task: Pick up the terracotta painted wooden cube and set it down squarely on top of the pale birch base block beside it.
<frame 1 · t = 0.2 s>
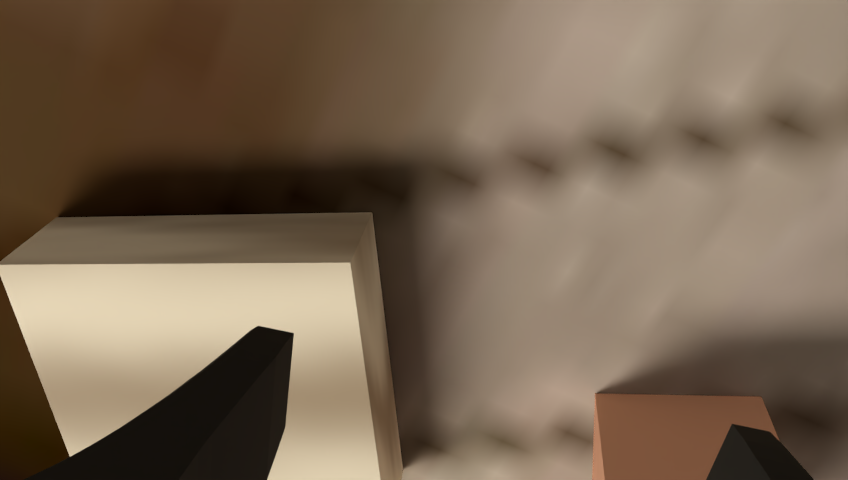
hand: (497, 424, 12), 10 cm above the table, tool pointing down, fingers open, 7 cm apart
base: (240, 351, 25), on the table
cube: (670, 453, 25), on the table
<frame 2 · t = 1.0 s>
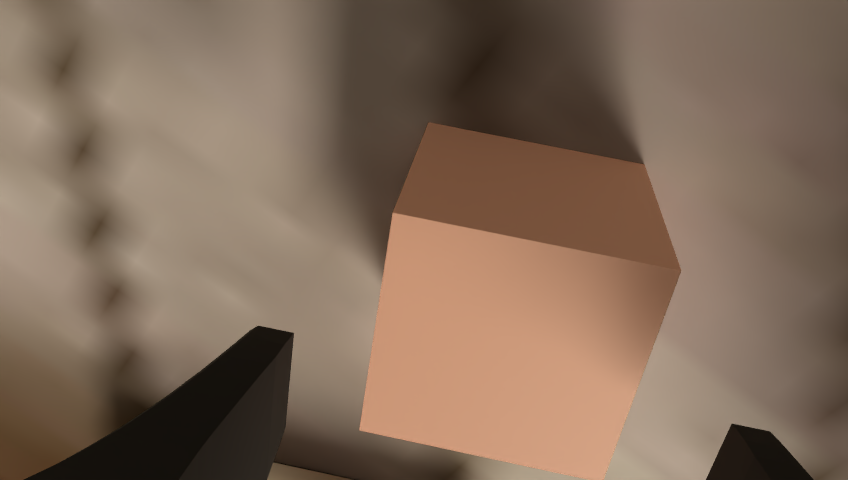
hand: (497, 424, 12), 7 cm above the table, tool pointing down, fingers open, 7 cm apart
cube: (512, 237, 18), on the table
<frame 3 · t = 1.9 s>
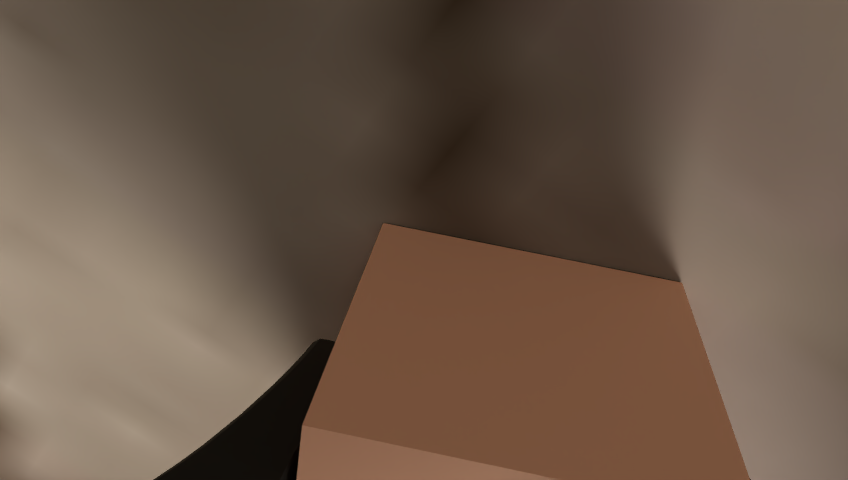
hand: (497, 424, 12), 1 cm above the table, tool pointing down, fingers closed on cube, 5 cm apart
cube: (500, 371, 14), on the table, touching gripper
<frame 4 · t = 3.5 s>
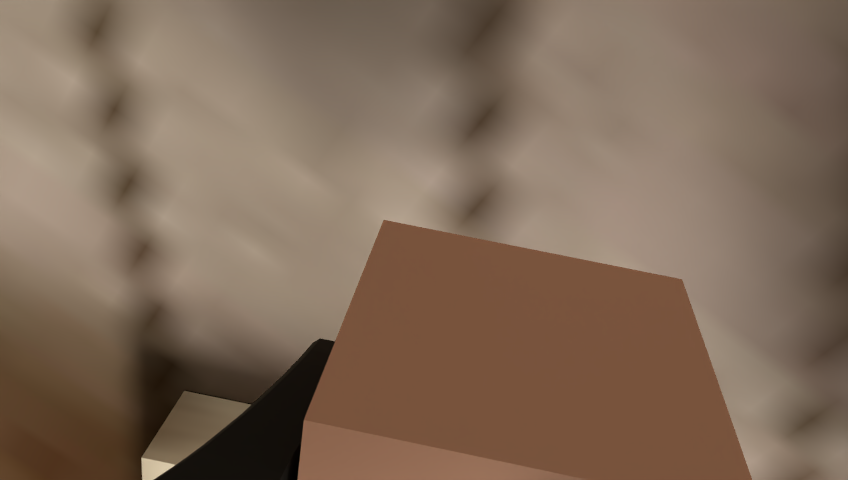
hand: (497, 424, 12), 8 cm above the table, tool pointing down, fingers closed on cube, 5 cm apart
cube: (500, 368, 14), point 7 cm above the table, touching gripper
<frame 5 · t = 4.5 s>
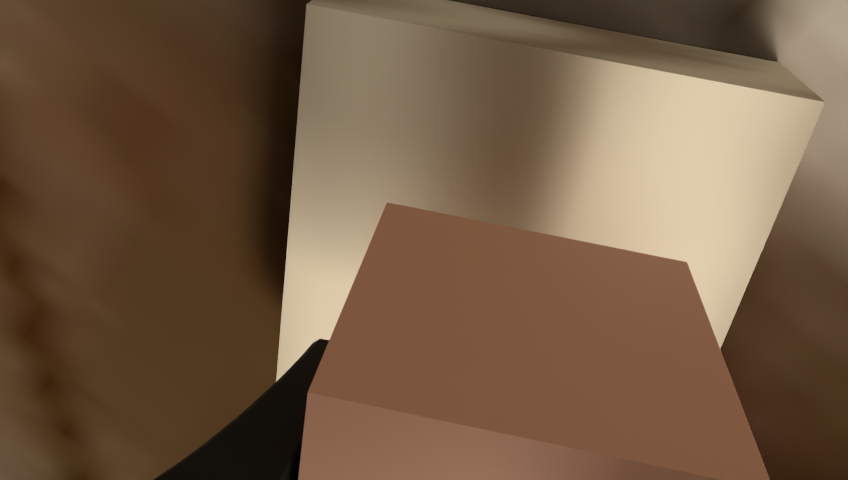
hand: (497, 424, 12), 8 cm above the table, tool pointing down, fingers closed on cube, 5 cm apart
base: (511, 216, 19), on the table
cube: (504, 353, 14), point 6 cm above the table, touching gripper
when the fingers open (5 cm above the table, at t = 5.4 s): cube stays where it is, resting on base.
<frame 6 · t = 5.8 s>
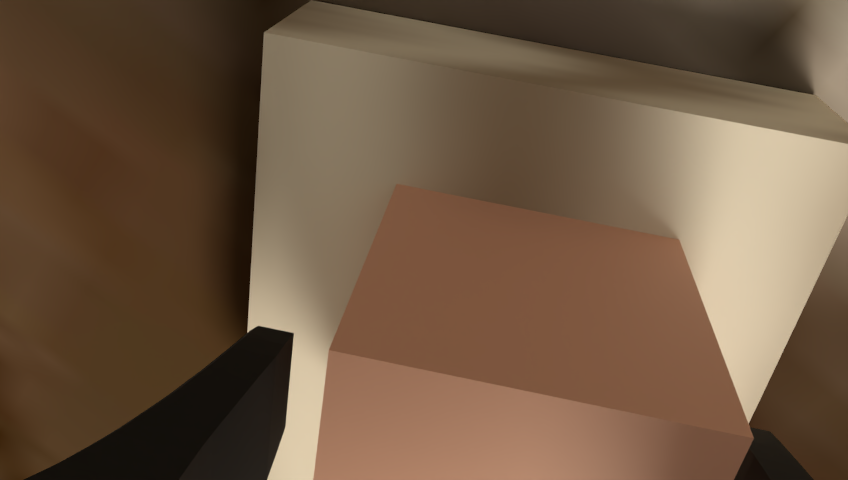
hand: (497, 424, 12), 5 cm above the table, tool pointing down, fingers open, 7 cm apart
base: (507, 264, 17), on the table
cube: (507, 328, 14), point 3 cm above the table, touching base
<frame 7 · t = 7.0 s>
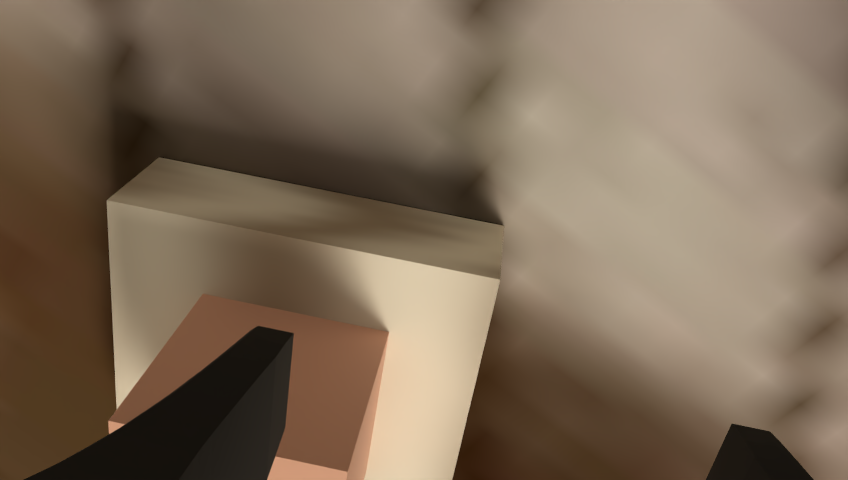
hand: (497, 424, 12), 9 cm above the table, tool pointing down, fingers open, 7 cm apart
base: (314, 334, 24), on the table
cube: (288, 387, 21), point 3 cm above the table, touching base
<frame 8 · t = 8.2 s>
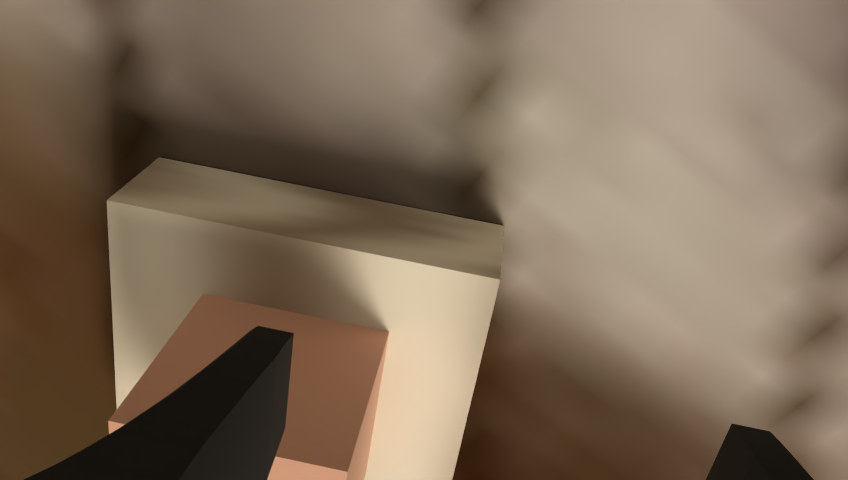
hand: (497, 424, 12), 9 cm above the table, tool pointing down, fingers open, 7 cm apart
base: (314, 334, 24), on the table
cube: (288, 387, 21), point 3 cm above the table, touching base
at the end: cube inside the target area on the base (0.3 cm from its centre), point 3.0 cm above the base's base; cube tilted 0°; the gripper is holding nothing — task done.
